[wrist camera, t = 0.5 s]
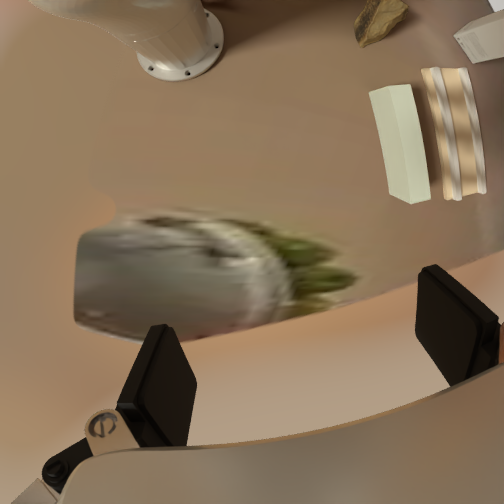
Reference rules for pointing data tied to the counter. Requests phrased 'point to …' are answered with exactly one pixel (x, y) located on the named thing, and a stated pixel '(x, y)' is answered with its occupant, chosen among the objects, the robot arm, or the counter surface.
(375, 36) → the rock
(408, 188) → the door panel
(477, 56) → the skincare box
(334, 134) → the counter surface
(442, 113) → the bottom track
